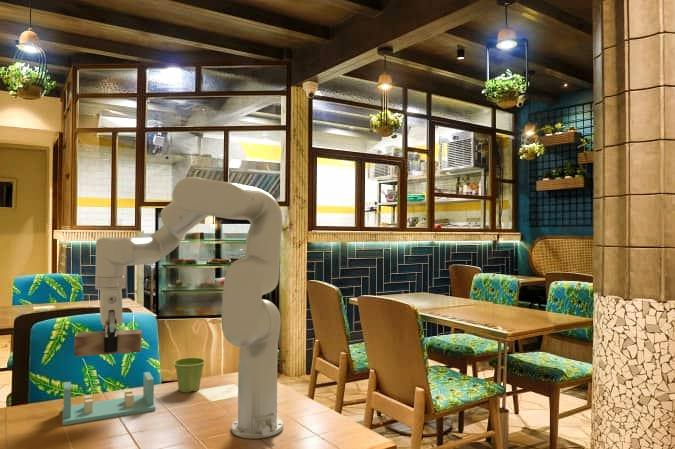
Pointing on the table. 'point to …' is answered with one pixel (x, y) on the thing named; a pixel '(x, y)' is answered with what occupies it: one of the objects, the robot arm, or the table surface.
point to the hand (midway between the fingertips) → (109, 348)
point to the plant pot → (189, 373)
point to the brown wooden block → (95, 342)
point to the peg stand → (108, 404)
